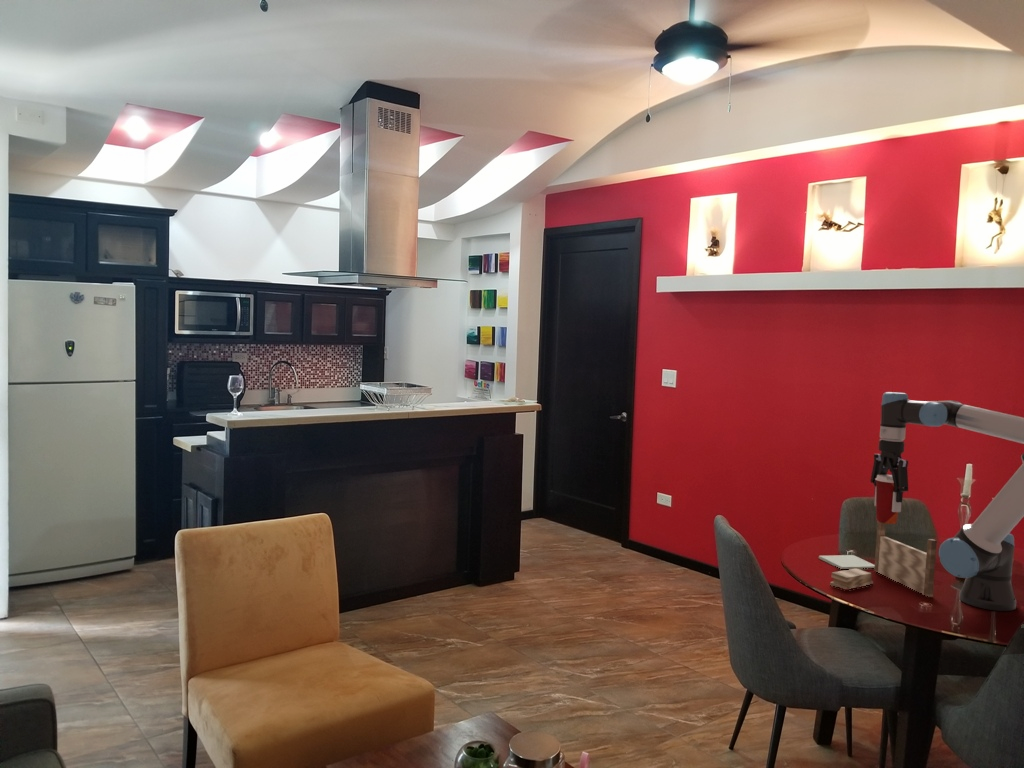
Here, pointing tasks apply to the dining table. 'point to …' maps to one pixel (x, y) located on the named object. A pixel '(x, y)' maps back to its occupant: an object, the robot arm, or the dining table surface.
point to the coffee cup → (885, 499)
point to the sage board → (847, 561)
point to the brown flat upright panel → (905, 562)
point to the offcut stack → (851, 578)
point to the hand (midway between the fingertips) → (887, 508)
